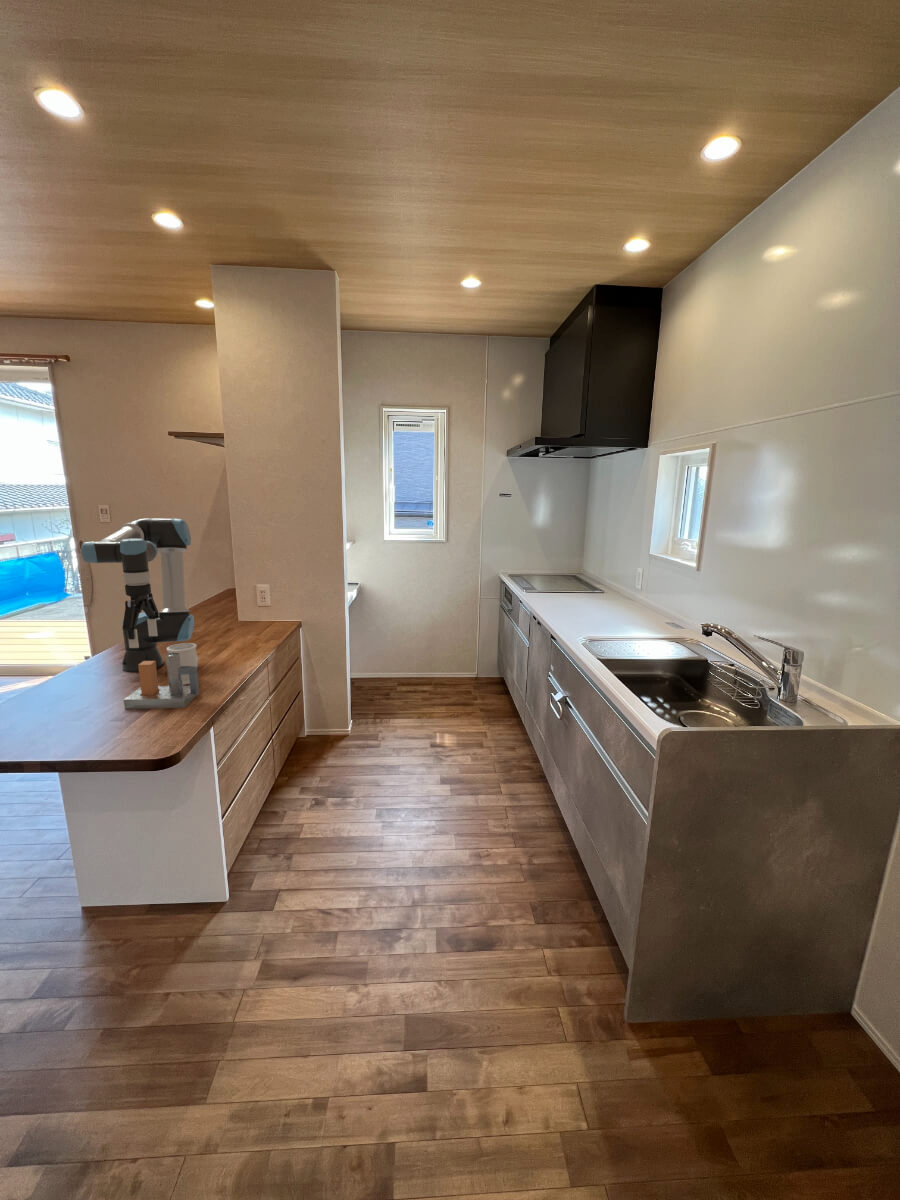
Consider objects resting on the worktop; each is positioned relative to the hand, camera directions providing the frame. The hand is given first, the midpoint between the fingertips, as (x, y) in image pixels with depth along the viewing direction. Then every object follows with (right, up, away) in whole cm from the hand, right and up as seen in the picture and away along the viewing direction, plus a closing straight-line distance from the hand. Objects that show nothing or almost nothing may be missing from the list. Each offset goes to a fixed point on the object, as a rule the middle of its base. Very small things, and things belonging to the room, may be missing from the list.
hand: (144, 641), depth 170 cm
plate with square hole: (+5, -22, +5) cm, 23 cm away
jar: (+2, -18, +23) cm, 30 cm away
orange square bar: (0, -22, +4) cm, 23 cm away
